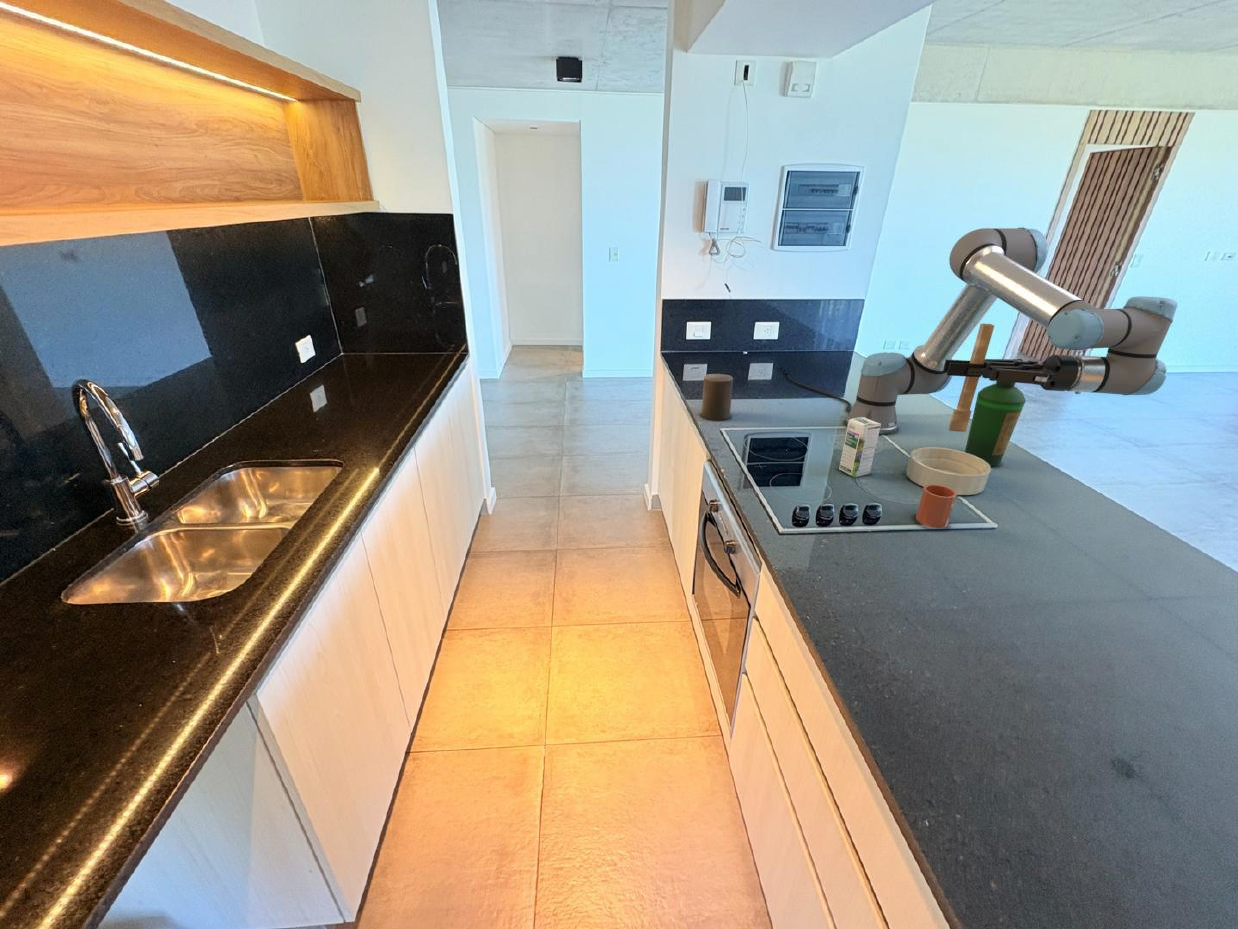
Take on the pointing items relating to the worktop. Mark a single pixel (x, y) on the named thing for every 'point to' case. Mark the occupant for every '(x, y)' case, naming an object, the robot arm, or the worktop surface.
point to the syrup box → (859, 446)
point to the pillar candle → (717, 396)
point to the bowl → (948, 469)
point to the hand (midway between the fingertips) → (946, 367)
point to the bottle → (994, 421)
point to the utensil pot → (935, 506)
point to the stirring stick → (971, 380)
